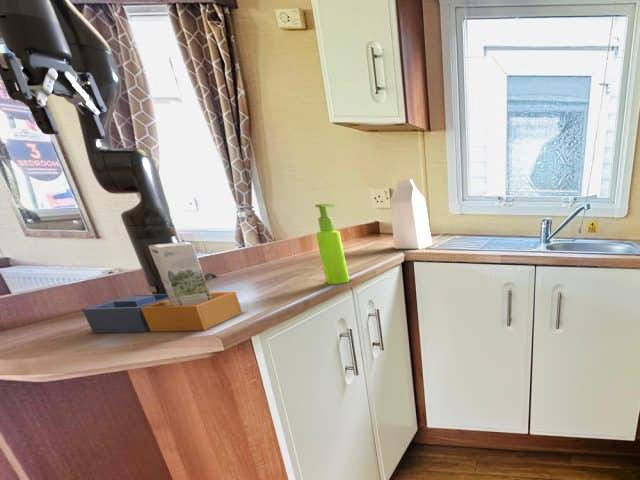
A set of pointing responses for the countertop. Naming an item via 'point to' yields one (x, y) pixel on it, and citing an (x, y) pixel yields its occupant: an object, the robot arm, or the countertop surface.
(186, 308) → the honey bin
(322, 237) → the soap dispenser
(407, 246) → the milk
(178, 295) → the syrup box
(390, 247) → the countertop surface
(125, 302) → the slate block
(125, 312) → the slate bin
